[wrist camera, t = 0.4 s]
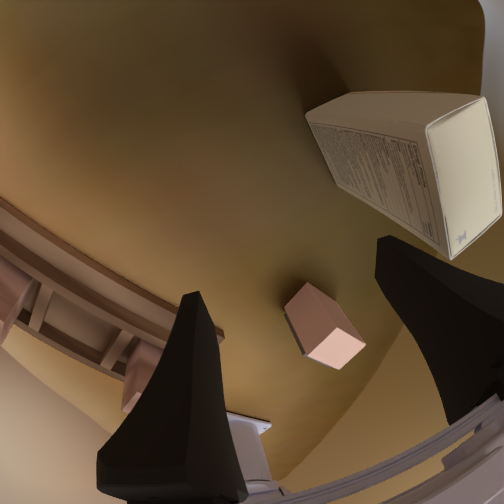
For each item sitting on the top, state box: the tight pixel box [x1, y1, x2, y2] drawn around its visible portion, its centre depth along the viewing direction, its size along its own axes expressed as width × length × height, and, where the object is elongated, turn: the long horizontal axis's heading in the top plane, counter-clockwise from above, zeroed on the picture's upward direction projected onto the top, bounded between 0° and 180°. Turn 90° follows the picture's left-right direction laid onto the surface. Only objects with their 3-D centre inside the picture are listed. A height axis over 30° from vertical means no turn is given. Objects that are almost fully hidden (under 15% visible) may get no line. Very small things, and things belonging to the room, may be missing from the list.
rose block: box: [284, 282, 366, 369], centre depth 23 cm, size 3×4×6 cm
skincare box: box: [305, 91, 502, 260], centre depth 15 cm, size 6×4×12 cm
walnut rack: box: [0, 197, 225, 413], centre depth 19 cm, size 10×22×7 cm, turn 50°
